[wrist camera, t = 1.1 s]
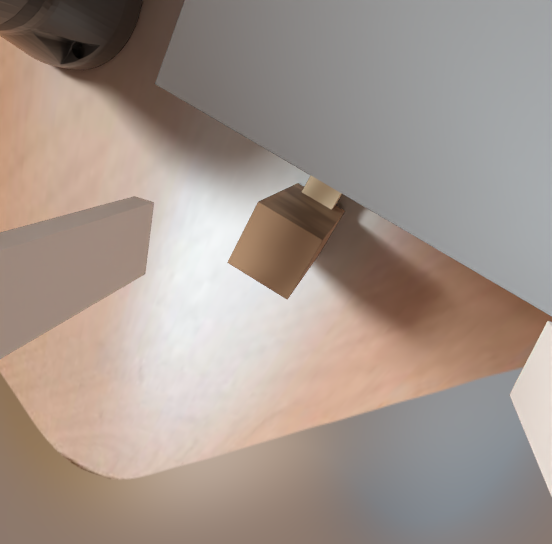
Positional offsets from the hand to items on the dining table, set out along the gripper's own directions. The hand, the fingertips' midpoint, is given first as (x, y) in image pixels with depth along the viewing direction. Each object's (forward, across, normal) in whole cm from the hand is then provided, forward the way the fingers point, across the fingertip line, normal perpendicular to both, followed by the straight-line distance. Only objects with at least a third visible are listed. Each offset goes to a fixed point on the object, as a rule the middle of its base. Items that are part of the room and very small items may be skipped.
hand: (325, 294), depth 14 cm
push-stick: (+26, -3, +3) cm, 27 cm away
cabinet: (+26, +5, +9) cm, 28 cm away
